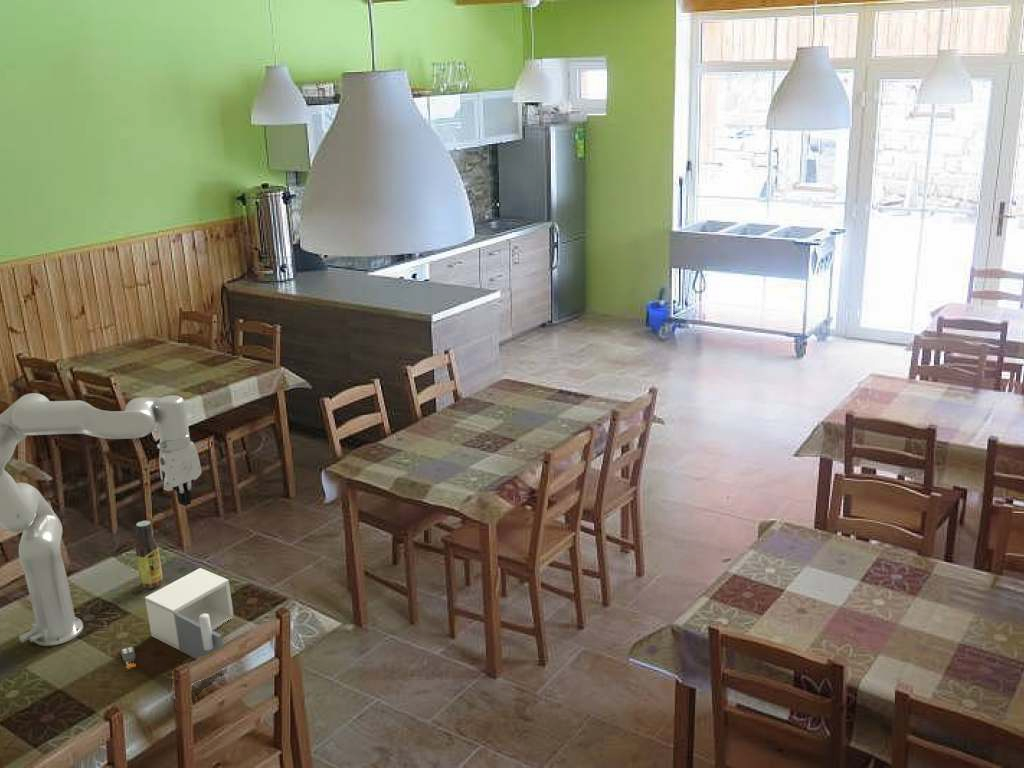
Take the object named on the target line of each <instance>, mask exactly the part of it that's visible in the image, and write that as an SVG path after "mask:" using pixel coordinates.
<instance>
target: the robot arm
mask: <svg viewBox="0 0 1024 768" xmlns="http://www.w3.org/2000/svg"><path fill="white" fill-rule="evenodd" d="M156 424H157V429H158V434H159V435H158V436H159V443H158V444H157V445H156V446H157V448H158V449H159V457H158V458H159V460H158V461H159V475H160V479H161V483H162V484H163V490H164V491H167V492H171V491H174V492H176V497H177V502H178V504H179V505H181V506H185V507H187V506H189V505H191V504H192V500H191V499H192V497H191V489H192V485H193V483H194V482H195V481H196V480H198V478H200V476H201V475H202V467H201V462H200V458H199V457H200V456H199V454H198V451H197V448H196V446H195V443H194V442H193V441H191V437H190V436H191V435H190V428H189V422H188V415H187V409H186V402H185V400H184V398H183V397H182V396H179V395H173V394H172V395H166V396H162V397H143V396H142V397H136V398H133V399H131V400H130V401H128V402H127V404H126V405H125V410H122V411H121V410H120V411H119V410H117V411H115V410H114V411H113V410H112V411H111V410H102V409H99V408H97V407H94V406H92V405H91V404H90V403H88V402H86V401H84V400H79V399H77V400H54V401H53V400H50V399H49V398H48V397H47V396H45V395H44V394H41V393H34V392H32V393H26V394H24V395H22V396H20V397H19V398H18V399H17V400H16V401H15V402H14V403H12V404H11V405H10V406H9V407H7V409H6V410H4V411H3V412H2V413H0V526H1V527H3V529H5V530H7V531H8V532H11V533H21V532H22V534H21V537H20V540H19V545H18V557H19V561H20V564H21V567H22V570H23V572H24V575H25V576H24V578H25V580H26V586H27V590H28V594H29V598H30V601H31V602H30V603H31V606H32V613H33V617H34V620H35V621H34V623H32V626H31V627H32V628H30V630H29V631H28V632H25V633H22V634H20V635H19V636H18V638H19V639H18V640H20V643H21V642H22V643H24V642H27V641H30V643H35V644H36V645H38V646H41V647H42V646H44V647H49V646H50V647H51V646H57V645H61V644H62V645H63V644H64V643H67V642H69V641H72V640H73V639H75V638H76V637H78V636H79V635H80V634H81V633H82V631H83V630H84V624H83V620H81V619H80V618H78V617H76V615H75V611H74V605H73V602H72V596H71V591H70V590H71V589H70V586H69V581H68V577H67V572H66V568H65V565H64V560H63V558H62V554H61V553H62V552H61V542H62V536H63V526H62V525H63V524H62V522H61V521H60V519H59V517H58V516H57V514H56V513H55V511H54V510H53V508H51V506H50V505H49V503H48V502H47V500H46V498H45V497H44V496H43V494H42V493H41V492H40V491H39V490H38V489H37V488H36V487H35V486H33V485H31V484H29V483H26V482H16V481H15V479H14V478H13V477H12V475H10V474H9V472H7V471H6V470H5V467H6V466H7V464H8V462H9V461H10V460H11V458H12V457H13V454H14V452H15V450H16V447H17V445H18V444H19V443H20V442H22V440H24V439H25V438H26V437H27V436H43V435H44V436H45V435H47V436H50V435H71V434H73V435H75V434H78V435H81V434H83V435H87V436H90V437H96V438H102V439H109V440H124V439H125V440H126V439H140V438H144V437H146V436H148V435H149V434H151V433H152V431H153V430H154V429H155V425H156Z"/></svg>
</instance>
